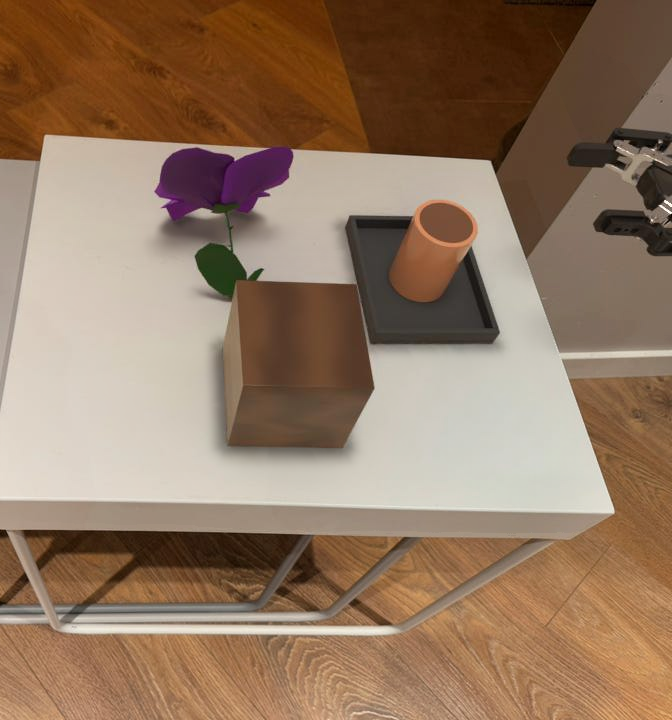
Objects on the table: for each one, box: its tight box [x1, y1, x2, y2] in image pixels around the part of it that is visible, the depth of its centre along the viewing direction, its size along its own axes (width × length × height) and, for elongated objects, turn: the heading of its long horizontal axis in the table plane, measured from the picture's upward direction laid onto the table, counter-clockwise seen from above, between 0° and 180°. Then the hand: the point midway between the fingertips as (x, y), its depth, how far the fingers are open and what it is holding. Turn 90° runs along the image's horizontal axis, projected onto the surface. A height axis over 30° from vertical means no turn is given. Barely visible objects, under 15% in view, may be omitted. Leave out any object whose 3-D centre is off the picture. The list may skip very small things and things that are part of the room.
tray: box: [344, 214, 501, 345], centre depth 84 cm, size 16×13×2 cm
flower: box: [153, 145, 294, 297], centre depth 80 cm, size 15×15×14 cm
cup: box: [389, 199, 479, 302], centre depth 81 cm, size 6×6×9 cm
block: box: [222, 280, 376, 449], centre depth 71 cm, size 11×11×11 cm
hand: (584, 186), depth 71 cm, fingers open, 8 cm apart
